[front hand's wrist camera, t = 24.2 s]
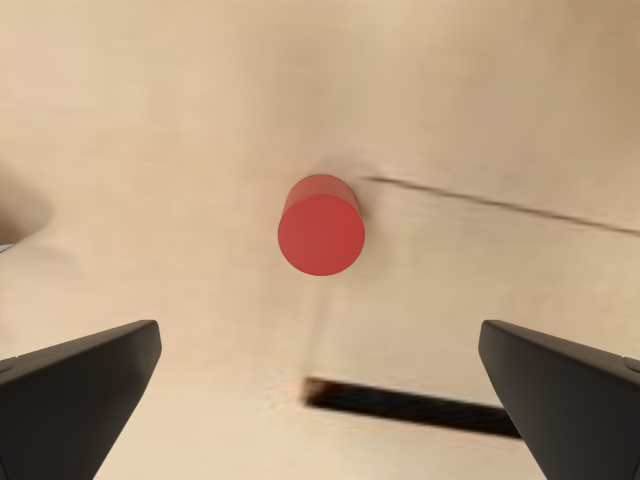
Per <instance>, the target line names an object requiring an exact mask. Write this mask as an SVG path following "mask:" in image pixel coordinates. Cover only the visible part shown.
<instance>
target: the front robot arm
mask: <svg viewBox="0 0 640 480" xmlns="http://www.w3.org/2000/svg"><path fill="white" fill-rule="evenodd" d="M161 350H162V345H161V338H160V332H159V326H158V323H157V321H155V320H140V321H136V322H133V323H130V324H126V325H123V326H119V327H116V328H113V329H109V330H106V331H102V332H99V333H96V334H92V335H89V336H85V337H82V338H78V339H75V340H72V341H68V342H65V343H61V344H58V345H55V346H51V347H48V348H44V349H41V350H38V351H34V352H31V353H27V354H24V355H20V356H18V357H17V358H16V357H12V358H8V359H5V360H1V361H0V480H93V478H94V477H95V475H96V473H97V472H98V470H99V468H100V467H101V465H102V463H103V462H104V460H105V458H106V457H107V455H108V453H109V452H110V450H111V448H112V446H113V445H114V443H115V441H116V440H117V438H118V436H119V435H120V433H121V431H122V430H123V428H124V426H125V425H126V423H127V421H128V420H129V418H130V416H131V415H132V413H133V411H134V410H135V408H136V406H137V405H138V403H139V401H140V399H141V398H142V396H143V394H144V392H145V390H146V387H147V385H148V383H149V381H150V378H151V376H152V374H153V371H154V369H155V367H156V364H157V362H158V360H159V358H160V355H161ZM478 350H479V355H480V358H481V360H482V362H483V364H484V367H485V369H486V371H487V374H488V376H489V378H490V381H491V383H492V385H493V387H494V390H495V392H496V394H497V396H498V398H499V399H500V401H501V403H502V405H503V406H504V408H505V410H506V411H507V413H508V415H509V416H510V418H511V420H512V421H513V423H514V425H515V426H516V428H517V430H518V431H519V433H520V435H521V436H522V438H523V440H524V441H525V443H526V445H527V446H528V448H529V450H530V452H531V453H532V455H533V457H534V458H535V460H536V462H537V463H538V465H539V467H540V468H541V470H542V472H543V473H544V475H545V477H546V478H547V480H640V361H639V360H635V359H632V358H628V357H624V358H623V357H622V356H620V355H616V354H613V353H609V352H606V351H602V350H599V349H596V348H592V347H589V346H585V345H582V344H579V343H575V342H572V341H568V340H565V339H562V338H558V337H555V336H551V335H548V334H544V333H541V332H538V331H534V330H531V329H527V328H524V327H521V326H517V325H514V324H510V323H507V322H504V321H500V320H485V321H483V323H482V326H481V332H480V338H479V345H478Z"/></svg>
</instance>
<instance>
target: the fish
mask: <svg viewBox="0 0 640 480" xmlns="http://www.w3.org/2000/svg"><path fill="white" fill-rule="evenodd" d="M18 244H19V243H18ZM13 245H15V244H9V245H0V253H1V252H3V251H5V250H6V249H8V248H10V247H12V246H13Z"/></svg>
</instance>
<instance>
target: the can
mask: <svg viewBox="0 0 640 480" xmlns="http://www.w3.org/2000/svg"><path fill="white" fill-rule="evenodd" d="M364 239H365V230H364V225H363V222H362V218H361V215H360V212H359V209H358V205H357V202H356V199H355V196H354V194H353V192H352V191H351V189H350V188H349V187H348V186H347V185H346V184H345V183H344V182H343V181H341V180H340V179H338V178H335V177H333V176H329V175H313V176H310V177H307V178H305V179H303V180H301V181H300V182H298V183H297V184H296V185H295V186H294V187H293V188H292V190H291V191H290V193H289V195H288V197H287V200H286V203H285V206H284V210H283V213H282V217H281V220H280V224H279V228H278V242H279V246H280V249H281V251H282V253H283V255H284V257H285V258H286V259H287V261H288V262H289V263H290V264H291V265H293V266H294V267H295V268H297V269H298V270H300V271H302V272H304V273H307V274H310V275H315V276H327V275H332V274H336V273H338V272H341V271H343V270H344V269H346V268H347V267H349V266H350V265H351V264H352V263H353V262H354V261H355V260H356V259H357V258H358V256H359V254H360V253H361V250H362V248H363V245H364Z"/></svg>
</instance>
